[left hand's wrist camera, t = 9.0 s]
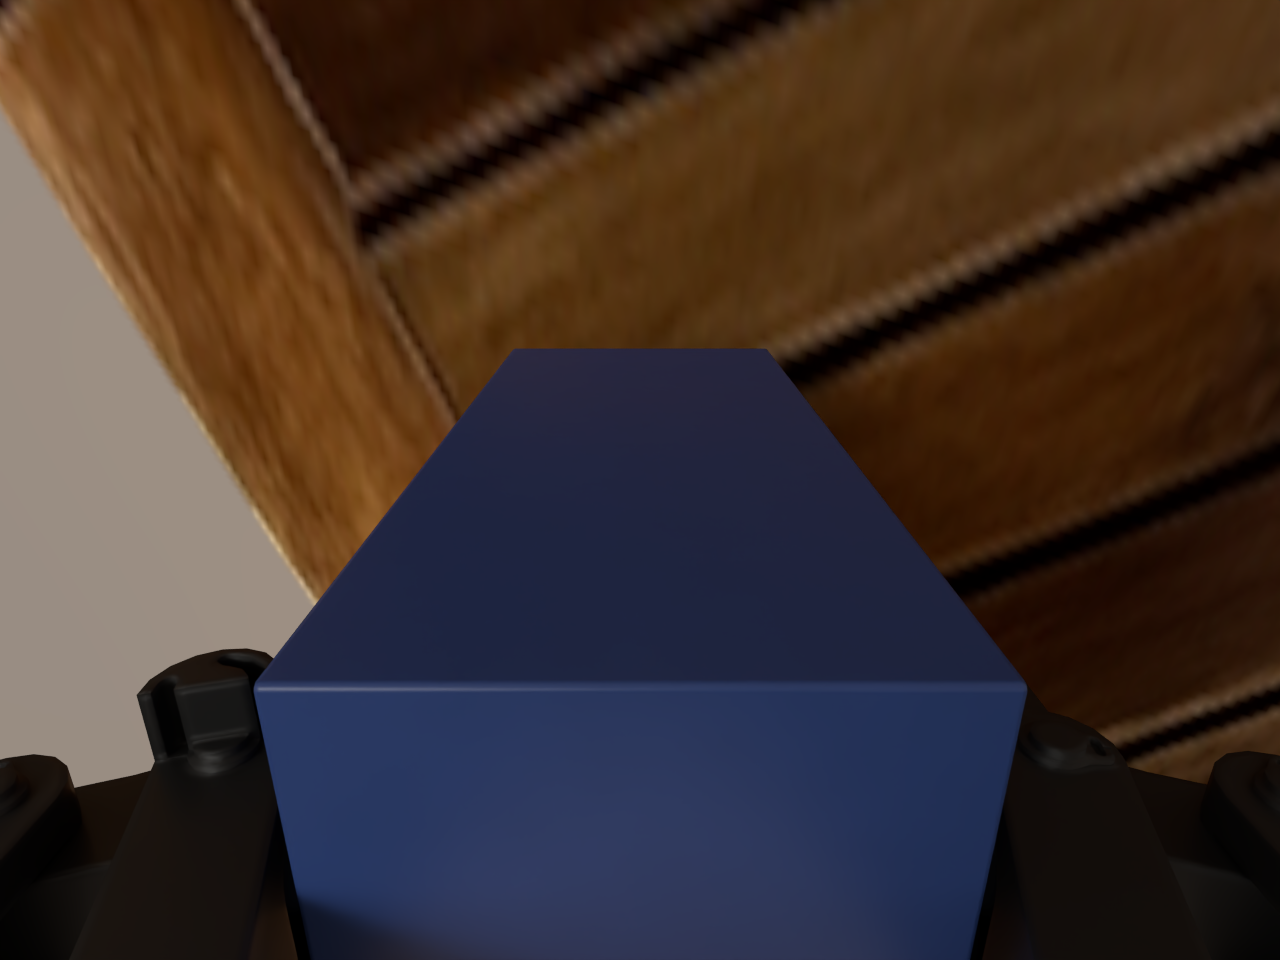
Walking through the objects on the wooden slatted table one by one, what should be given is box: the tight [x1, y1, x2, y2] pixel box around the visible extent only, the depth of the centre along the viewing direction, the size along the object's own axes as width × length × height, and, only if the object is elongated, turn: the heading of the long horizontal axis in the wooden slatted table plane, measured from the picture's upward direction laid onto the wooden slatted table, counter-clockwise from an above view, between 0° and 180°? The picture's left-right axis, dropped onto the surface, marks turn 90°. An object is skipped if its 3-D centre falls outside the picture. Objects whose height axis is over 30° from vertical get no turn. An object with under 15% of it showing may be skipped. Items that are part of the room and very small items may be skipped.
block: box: [254, 349, 1027, 960], centre depth 12 cm, size 6×6×12 cm
